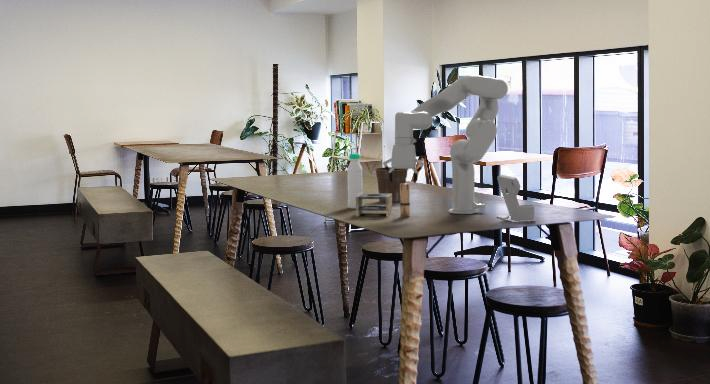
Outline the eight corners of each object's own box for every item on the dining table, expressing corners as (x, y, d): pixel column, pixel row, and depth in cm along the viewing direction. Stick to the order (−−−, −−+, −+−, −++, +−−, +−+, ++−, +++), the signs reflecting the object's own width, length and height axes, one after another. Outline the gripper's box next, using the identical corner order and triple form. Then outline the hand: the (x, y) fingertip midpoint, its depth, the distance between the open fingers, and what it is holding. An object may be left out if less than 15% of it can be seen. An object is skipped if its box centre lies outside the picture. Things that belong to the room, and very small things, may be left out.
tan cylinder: (410, 216, 356) (410, 183, 354) (409, 217, 352) (409, 184, 350) (400, 216, 357) (400, 183, 355) (399, 217, 352) (399, 184, 351)
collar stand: (392, 212, 367) (391, 193, 366) (388, 216, 355) (388, 196, 354) (360, 212, 369) (360, 193, 369) (356, 216, 358) (355, 196, 357)
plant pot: (415, 201, 405) (415, 168, 403) (388, 204, 396) (388, 170, 394) (395, 198, 418) (394, 166, 417) (368, 201, 409) (368, 168, 408)
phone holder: (537, 221, 334) (537, 176, 332) (513, 223, 331) (514, 177, 329) (517, 216, 350) (517, 173, 348) (495, 217, 348) (495, 174, 346)
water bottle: (354, 206, 391) (353, 153, 388) (366, 207, 386) (365, 153, 384) (344, 208, 386) (343, 154, 383) (356, 209, 381) (355, 154, 378)
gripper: (425, 141, 353) (424, 182, 355) (384, 141, 356) (384, 181, 357) (423, 142, 345) (423, 183, 347) (382, 141, 348) (381, 182, 350)
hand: (403, 182), depth 352 cm, fingers open, 9 cm apart
